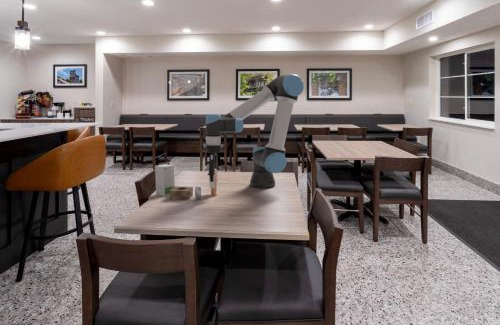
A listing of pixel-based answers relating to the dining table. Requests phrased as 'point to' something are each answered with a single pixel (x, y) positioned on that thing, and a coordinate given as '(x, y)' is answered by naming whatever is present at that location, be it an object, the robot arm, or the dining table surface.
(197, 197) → the short pin
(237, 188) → the dining table surface
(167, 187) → the skincare box
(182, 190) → the socket block
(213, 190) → the long pin
